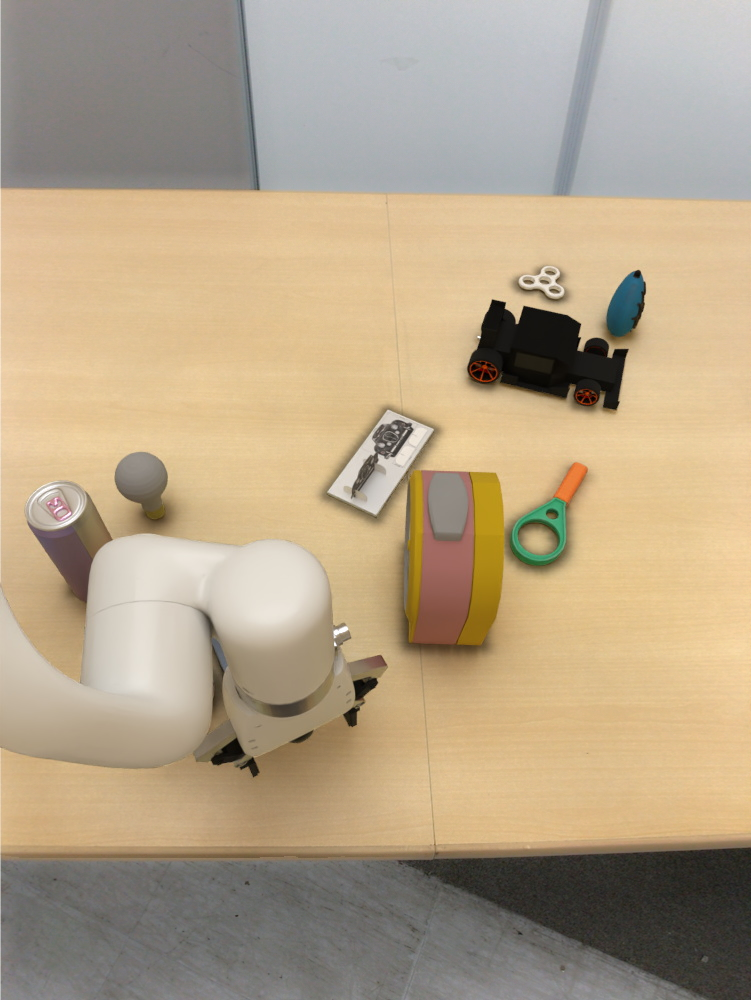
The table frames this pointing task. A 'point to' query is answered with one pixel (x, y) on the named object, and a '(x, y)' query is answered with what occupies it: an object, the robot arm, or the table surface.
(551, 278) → the fidget spinner
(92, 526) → the beverage can
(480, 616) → the alarm clock
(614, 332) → the ornament
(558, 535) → the magnifying glass
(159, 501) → the light bulb
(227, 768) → the table surface
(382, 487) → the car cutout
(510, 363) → the toy race car
